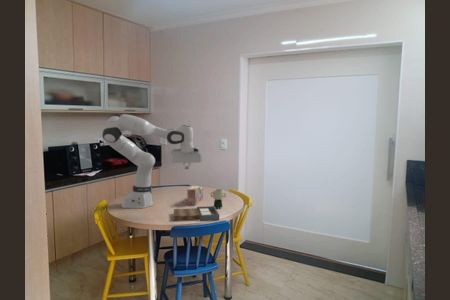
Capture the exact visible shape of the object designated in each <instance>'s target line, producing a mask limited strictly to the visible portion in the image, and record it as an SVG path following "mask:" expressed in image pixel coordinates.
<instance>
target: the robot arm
mask: <svg viewBox="0 0 450 300" xmlns="http://www.w3.org/2000/svg"><path fill="white" fill-rule="evenodd" d="M123 132H128V133H132V134H135V135H139V136H140V135H141V136H147V135H149V136H150V135H151V136H156V137H158V138H163V139H164V140H165V141H166V142H168V143H169V144H170V145H177V144H178V145H179V144H180V145H179V148H177V149H176V148H173V149H172V150H171V153H170V154H171V162H172V163H173V164H176V163H177V164H182V165H183V166H184V167H183V168H184V170H189V169H190V166H191V164H192V163H201V162H202V154H201V152H200V151H201V149H200V148H199V147H196V146H194V129H193V127H192V126H191V125H185V124H183V125H180V126H179V127H177V128H175V129H174V128H171V129H170V128H169V129H165V128H162V127H158V126H156V125H154V124H152V123H151V122H149V121H148V120H146V119H144V118H142V117H139V116H136V115H132V114H126V113H124V114H123V113H122V114H121V113H112V114H110V116H109V117H108V120H107V121H106V122H105V124H104V127H103V131H102V138H103V140H104V141H105V142H106V143H107V144H108V146H109V147H111V148H112V149H113V150H115V151H116V152H118V153H119V154H120V155H122V156H123V157H125V158H126V159H127V160H129V161H130V162H131V163H133V164H134V165H136V166H137V170H136V173H135V180H134V181H135V182H134V183H135V184H133V185H132V191H130V193H128V194H127V195H126V196H125V198H124V201H123V202H122V203H121V208H122V209H124V208H125V209H145V208H147V207H151V206H153V205H154V202H153V196H152V192H153V187H152V171H153V168H154V166H155V163H156V158H155V157H154V155H153V154H152V153H150V152H147V151H146V152H145V151H144V150H142V149H140V147H139V146H137V145H136V144H135V143H134V142H133V141H132V140H130V139H129V138H127V137H126V136H124V135H123ZM186 163H187V164H188V165H186Z"/></svg>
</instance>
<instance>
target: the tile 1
mask: <svg viewBox="0 0 450 300" xmlns="http://www.w3.org/2000/svg"><path fill="white" fill-rule="evenodd" d="M201 212H209V209H208V208H206V209H199V213H200V215H201Z"/></svg>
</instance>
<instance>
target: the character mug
mask: <svg viewBox="0 0 450 300" xmlns="http://www.w3.org/2000/svg"><path fill="white" fill-rule="evenodd" d="M212 191H213V192H210V197H211V198H213V199H214V200H213V202H214V203H213V206H214V207H215V208H216V209H220V208H223V202H222V201H223V199H224V198H225V197H226V194H227V193H226V192H224V190H223V188H214V189H213V190H212Z"/></svg>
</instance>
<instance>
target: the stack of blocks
mask: <svg viewBox="0 0 450 300" xmlns="http://www.w3.org/2000/svg"><path fill="white" fill-rule="evenodd" d="M203 199H204V187H203V186H200V185H192V186H190V187H189V188H188V189H187V202H186V203H187V206H193V207H194V206H196V205H198V204H199V203H200V202H201V201H202V200H203Z"/></svg>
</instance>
